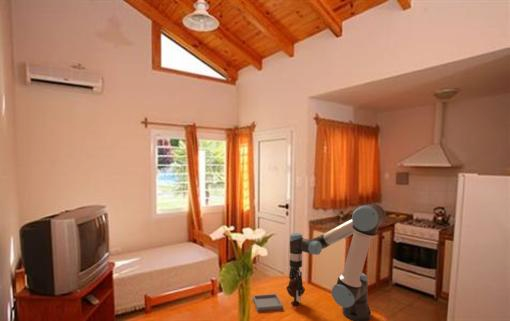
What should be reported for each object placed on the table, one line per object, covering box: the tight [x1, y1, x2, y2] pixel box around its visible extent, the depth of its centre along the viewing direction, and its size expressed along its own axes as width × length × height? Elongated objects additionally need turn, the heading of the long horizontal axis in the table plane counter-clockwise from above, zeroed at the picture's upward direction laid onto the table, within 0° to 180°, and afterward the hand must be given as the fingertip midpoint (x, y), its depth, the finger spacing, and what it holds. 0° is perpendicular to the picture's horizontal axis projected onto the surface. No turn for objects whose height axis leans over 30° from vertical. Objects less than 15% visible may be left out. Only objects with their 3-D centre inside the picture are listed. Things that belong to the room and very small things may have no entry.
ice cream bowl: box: [285, 279, 306, 307], centre depth 165 cm, size 11×11×15 cm
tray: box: [252, 293, 284, 313], centre depth 163 cm, size 15×15×2 cm
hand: (295, 296), depth 164 cm, fingers closed on ice cream bowl, 11 cm apart
